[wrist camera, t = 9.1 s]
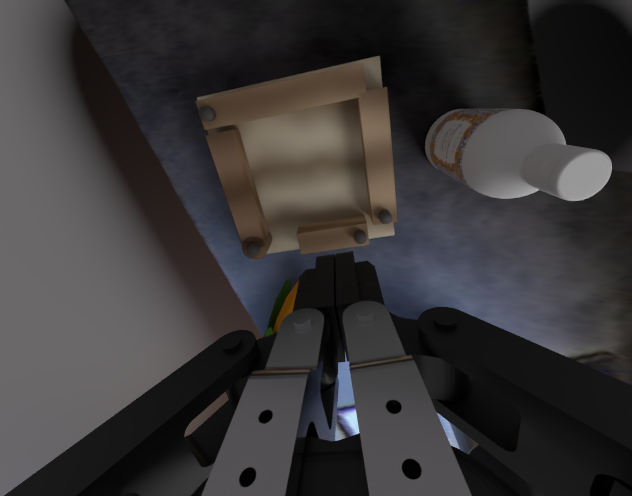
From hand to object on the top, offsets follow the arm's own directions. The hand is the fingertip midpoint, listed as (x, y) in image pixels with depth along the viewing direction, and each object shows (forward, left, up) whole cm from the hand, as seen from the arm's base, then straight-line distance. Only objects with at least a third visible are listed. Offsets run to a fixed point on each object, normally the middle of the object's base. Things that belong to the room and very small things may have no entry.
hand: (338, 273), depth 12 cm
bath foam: (0, -14, -27) cm, 31 cm away
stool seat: (0, +4, -27) cm, 27 cm away
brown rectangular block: (-1, +11, -25) cm, 27 cm away
